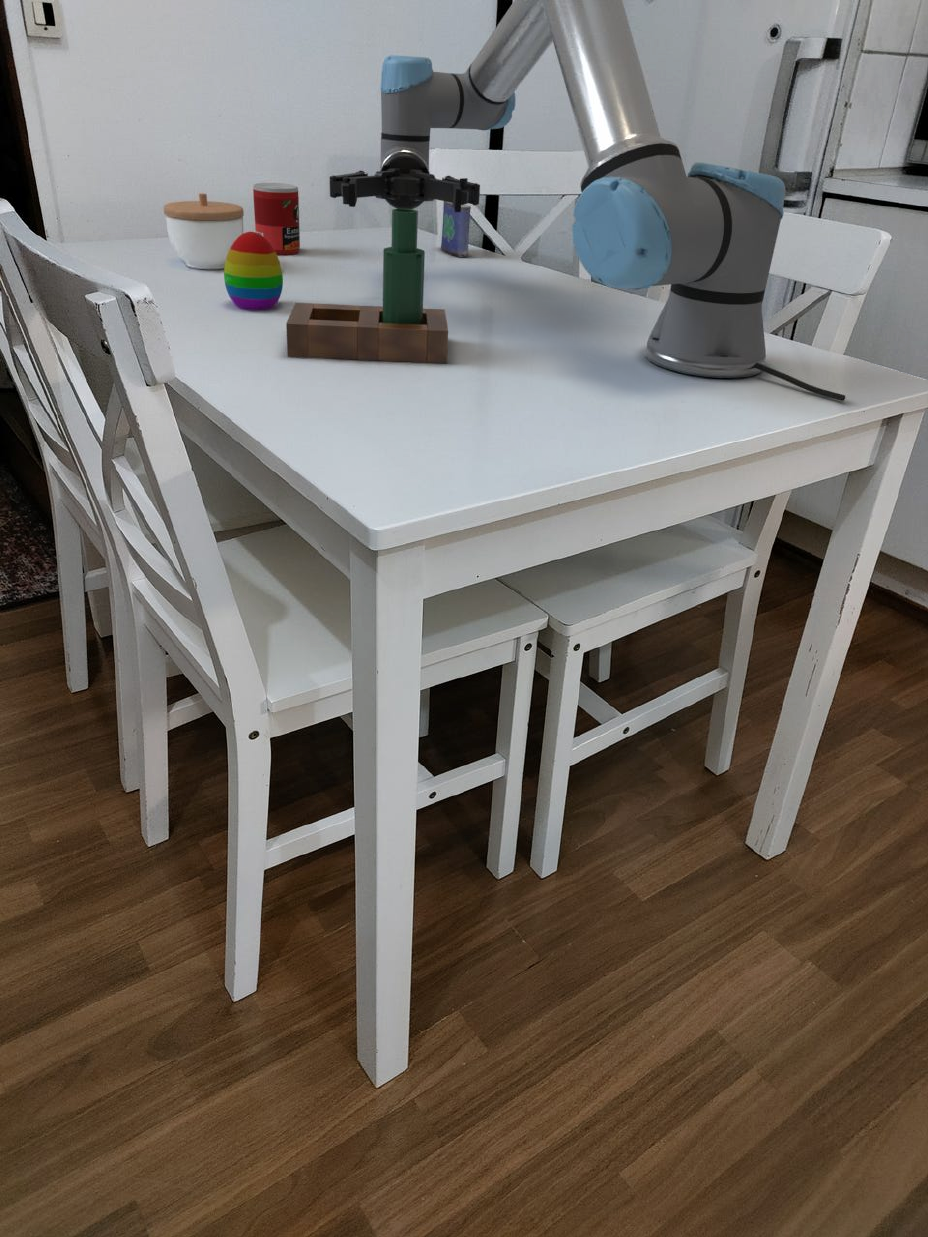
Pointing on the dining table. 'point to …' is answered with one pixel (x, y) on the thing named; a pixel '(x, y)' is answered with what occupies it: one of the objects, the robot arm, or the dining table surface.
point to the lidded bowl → (203, 230)
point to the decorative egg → (253, 273)
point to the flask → (455, 230)
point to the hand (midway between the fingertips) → (405, 197)
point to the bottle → (403, 271)
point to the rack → (364, 334)
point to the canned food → (278, 216)
